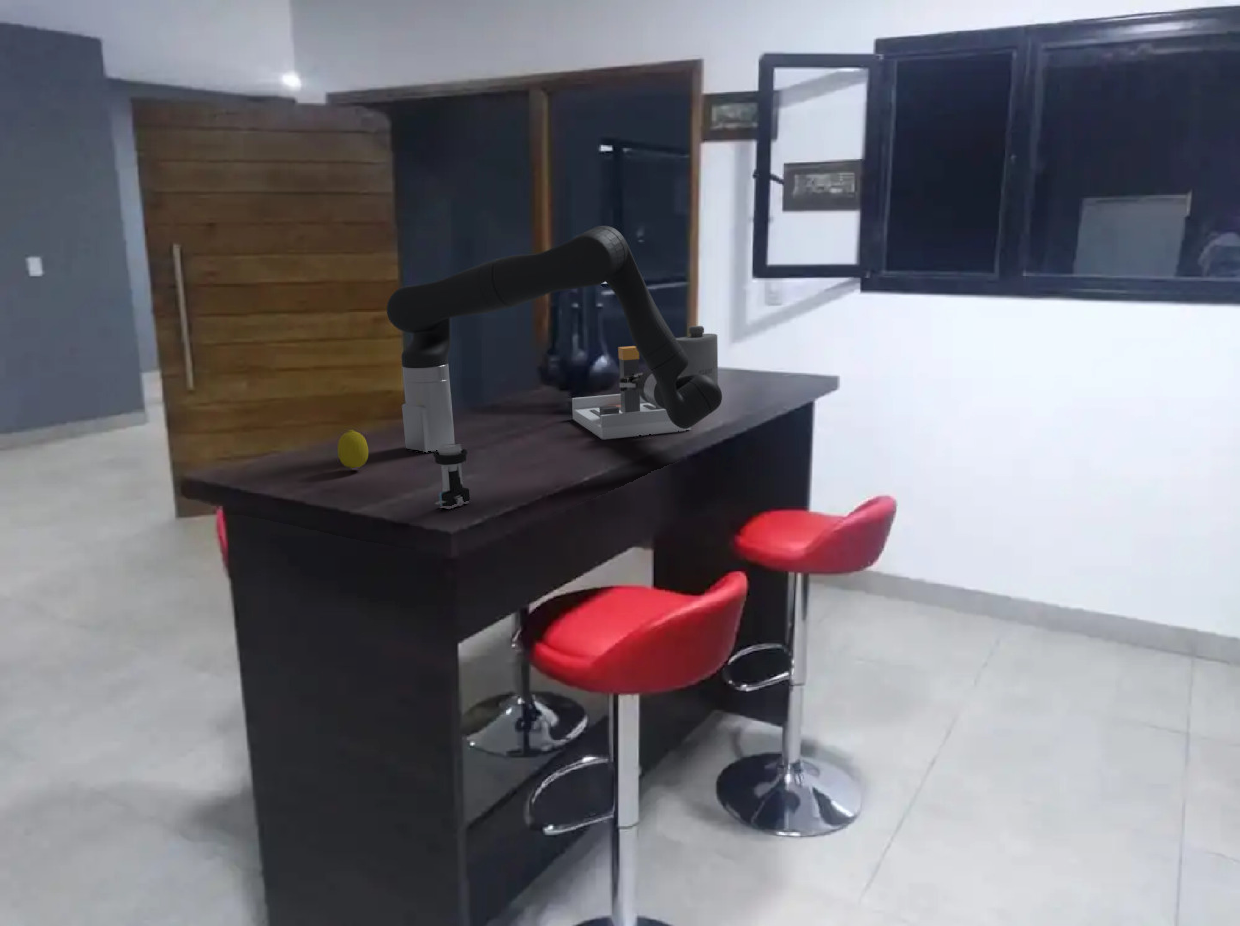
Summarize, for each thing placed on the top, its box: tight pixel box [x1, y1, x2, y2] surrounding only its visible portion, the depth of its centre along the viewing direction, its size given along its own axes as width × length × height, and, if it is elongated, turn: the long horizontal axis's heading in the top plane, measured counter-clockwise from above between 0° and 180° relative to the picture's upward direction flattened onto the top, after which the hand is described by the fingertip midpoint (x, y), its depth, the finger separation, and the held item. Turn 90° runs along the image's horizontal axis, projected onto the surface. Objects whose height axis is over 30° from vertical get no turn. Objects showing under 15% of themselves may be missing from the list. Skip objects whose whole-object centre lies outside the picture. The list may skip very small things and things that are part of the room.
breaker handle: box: [617, 345, 640, 413], centre depth 201 cm, size 3×4×14 cm
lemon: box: [337, 429, 369, 469], centre depth 171 cm, size 6×6×8 cm
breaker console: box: [571, 393, 692, 440], centre depth 204 cm, size 24×20×6 cm
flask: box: [675, 325, 719, 385], centre depth 217 cm, size 15×6×20 cm, turn 138°
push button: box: [432, 443, 471, 506], centre depth 145 cm, size 7×5×10 cm
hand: (634, 376), depth 198 cm, fingers closed
